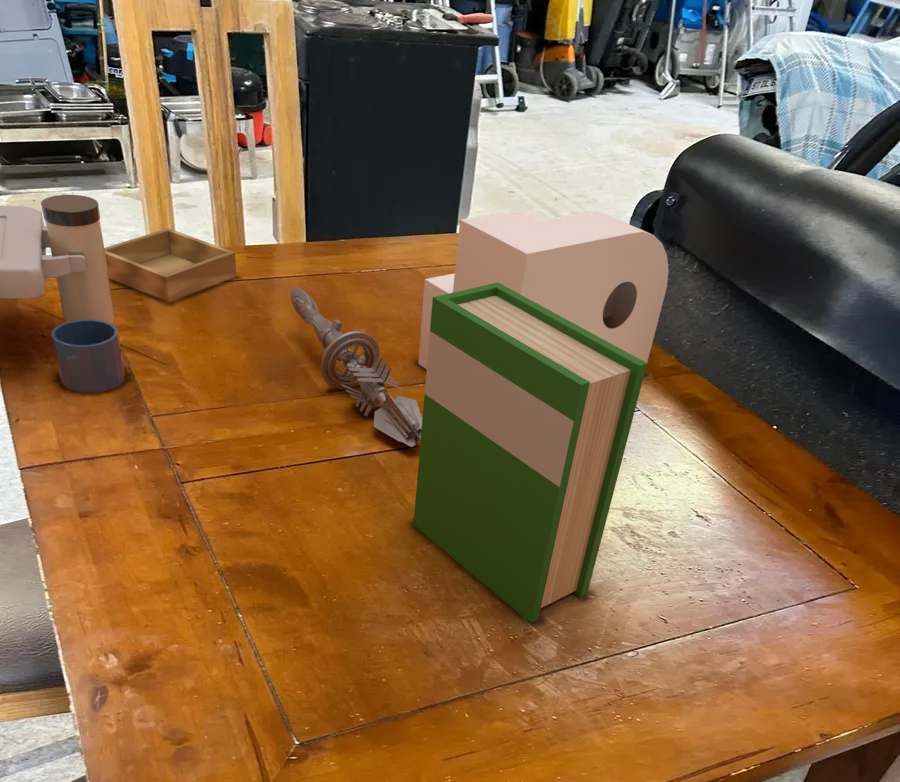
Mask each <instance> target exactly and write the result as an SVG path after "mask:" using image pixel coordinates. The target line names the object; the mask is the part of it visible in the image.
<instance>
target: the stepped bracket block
mask: <svg viewBox="0 0 900 782" xmlns="http://www.w3.org/2000/svg"><path fill="white" fill-rule="evenodd" d="M456 247H457V248H456V258H455V266H454V272H453V273H448V274H445V275H440V276H435V277H429V278H424V285H423V298H422V299H423V300H422V312H421V323H420V325H421V326H420V338H419V350H418V363H417V364H418V365H419V366H421V367H422V368H424V369H425V370H427V359H428V348H429V336H430V324H431V312H432V301H433V297H436V296H440V295H444V294H449V293H453V292H458V291H462V290H467V289H471V288H475V287H480V286H484V285H489V284H493V283H497V282H498V283H500V284H502V285H504V286H506V287H507V288H509V289H511V290H513V291H515V292H517V293H519V294H520V295H522V296H524V297H526V298H528V299H530V300H531V301H533V302H535V303H537V304H539V305H541V306H543V307H544V308H546V309H548V310H550V311H552V312H554V313H555V314H557V315H559V316H561V317H563V318H565V319H567V320H568V321H570V322H572V323H574V324H576V325H578V326H579V327H581V328H583V329H585V330H587V331H589V332H591V333H592V334H594V335H596V336H598V337H600V338H602V339H603V340H605V341H607V342H609V343H611V344H613V345H615V346H616V347H618V348H620V349H622V350H624V351H626V352H627V353H629V354H631V355H633V356H635V357H637V358H639V359H640V360H642V361H644V362H646V363H647V364H648V362H649V357H650V354H651V349H652V347H653V342H654V339H655V336H656V335H655V334H656V331H657V327H658V323H659V319H660V315H661V312H662V308H663V303H664V300H665V297H666V292H667V288H668V280H669V271H670V270H669V261H668V255H667V252H666V250H665V246H664V245H663V243H662V242H661V240H659V238H657V237H656V236H655V235H654V234H652V233H650V232H649V231H645V230H644V229H640V228H639V227H636V226H634V225H632V224H629V223H628V222H625V221H623V220H621V219H618V218H616V217H614V216H611V215H610V214H606V213H603V212H600V211H597V210H593V211H592V210H591V211H585V212H579V213H573V214H567V215H561V216H556V217H550V218H544V219H538V218H535V217H533V216H531V215H529V214H527V213H524V212H523V211H520V210H519V209H518V210H511V211H505V212H499V213H492V214H487V215H480V216H474V217H467V218H461V219H459V228H458V238H457V246H456Z"/></svg>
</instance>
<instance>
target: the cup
mask: <svg viewBox="0 0 900 782" xmlns="http://www.w3.org/2000/svg"><path fill="white" fill-rule="evenodd" d="M50 337H51V338H50V339H51V342H52V347H53V353H54V357H55V362H56V366H57V373H58V376H59V380H60V382H61V384H62V385H63V386H64V387H65V388H66V389H68V390H70V391H74V392H77V393H87V394H88V393H89V394H90V393H91V394H92V393H102V392H106V391H110V390H113V389H115V388H117V387H119V386H120V385H121V384H122V383H124V381H125V378H126V377H125V367H124V359H123V353H122V347H121V340H120V334H119V329H118V328H117V327H116V326H115V325H114V324H112V323H111V324H110V323H108V322H105V321H100V320H93V319H81V320H74V321H69V322H66V323H65V322H63V323H61V324H58V325H57V326H56V327H54V328H53V329H52V330H51V334H50Z"/></svg>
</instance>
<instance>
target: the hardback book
mask: <svg viewBox="0 0 900 782" xmlns="http://www.w3.org/2000/svg"><path fill="white" fill-rule="evenodd" d="M647 366H648V362H647V363H646V362H644V361H642V360H640V359H639V358H637V357H635V356H633V355H631V354H629V353H627V352H626V351H624V350H622V349H620V348H618V347H616V346H615V345H613V344H611V343H609V342H607V341H605V340H603V339H602V338H600V337H598V336H596V335H594V334H592V333H591V332H589V331H587V330H585V329H583V328H581V327H579V326H578V325H576V324H574V323H572V322H570V321H568V320H567V319H565V318H563V317H561V316H559V315H557V314H555V313H554V312H552V311H550V310H548V309H546V308H544V307H543V306H541V305H539V304H537V303H535V302H533V301H531V300H530V299H528V298H526V297H524V296H522V295H520V294H519V293H517V292H515V291H513V290H511V289H509V288H507V287H506V286H504V285H502V284H500V283H498V282H497V283H493V284H489V285H484V286H480V287H475V288H471V289H467V290H462V291H458V292H453V293H449V294H444V295H440V296H436V297H433V301H432V312H431V324H430V336H429V348H428V359H427V369H426V373H425V385H424V396H423V408H422V430H421V438H420V443H419V446H420V448H419V455H418V467H417V478H416V488H415V489H416V490H415V500H414V502H415V503H414V511H413V512H414V514H413V524H412V525H413V526H414V527H415V528H417V529H418V530H419V531H420V532H421V533H422V534H424V535H425V536H426V537H427V538H428V539H430V540H431V541H432V542H433V543H434V544H435V545H436V546H438V547H439V548H440V549H441V550H443V551H444V552H445V553H446V554H448V555H449V556H450V557H451V558H452V559H453V560H455V561H456V562H457V563H458V564H459V565H461V566H462V567H463V568H464V569H466V570H467V572H469V573H470V574H471V575H472V576H474V577H475V578H476V579H477V580H479V581H480V582H481V583H482V584H483V585H485V586H486V587H487V588H488V589H489V590H491V591H492V592H493V593H494V594H495V595H497V596H498V597H499V598H500V600H503V601H504V602H505V603H506V604H507V605H508V606H510V607H511V608H512V609H513V610H515V611H516V612H517V613H518V614H519V615H520V616H521V617H522V618H524V619H525V620H526V621H527V622H529V623H530V624H533V623H534V622H536V621H538V620H539V618H540V613H541V609H542V608H544V607H546V606H548V605H551V604H552V603H554V602H556V601H559V600H560V599H563V598H564V597H567V596H568V595H570V594H572V593H573V594H575V595H576V596H577V597H578V598H583V597H585V596H587V595H588V592H589V589H590V585H591V581H592V578H593V574H594V570H595V565H596V562H597V558H598V555H599V550H600V548H601V547H600V546H601V543H602V538H603V535H604V530H605V528H606V524H607V520H608V517H609V516H608V515H609V511H610V509H611V505H612V500H613V497H614V493H615V490H616V489H615V488H616V484H617V482H618V477H619V473H620V470H621V466H622V461H623V459H624V454H625V451H626V447H627V443H628V438H629V435H630V431H631V427H632V423H633V420H634V416H635V412H636V408H637V404H638V400H639V396H640V392H641V389H642V385H643V381H644V377H645V374H646V371H647V370H646V369H647Z"/></svg>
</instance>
